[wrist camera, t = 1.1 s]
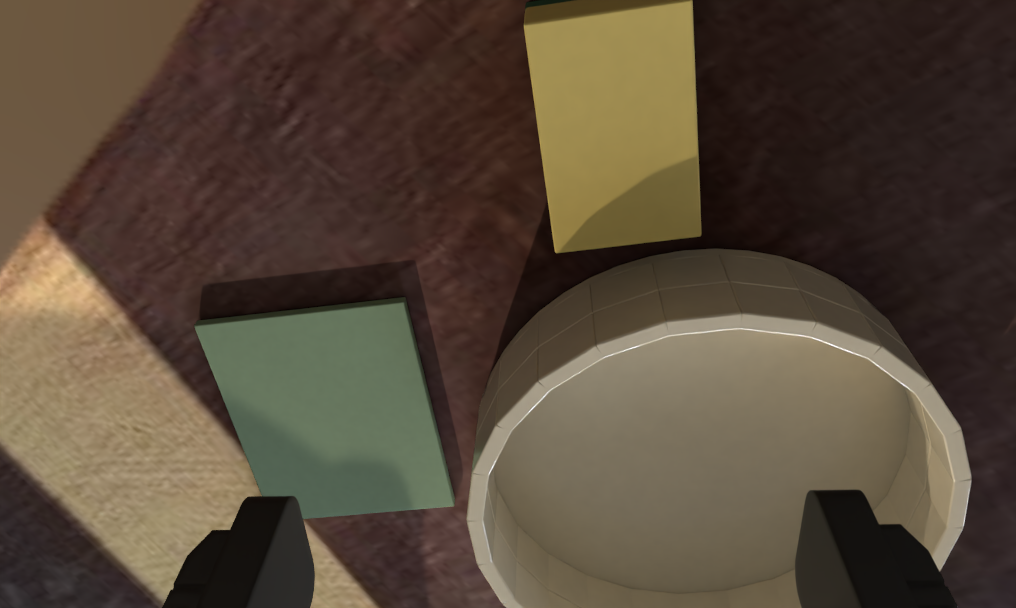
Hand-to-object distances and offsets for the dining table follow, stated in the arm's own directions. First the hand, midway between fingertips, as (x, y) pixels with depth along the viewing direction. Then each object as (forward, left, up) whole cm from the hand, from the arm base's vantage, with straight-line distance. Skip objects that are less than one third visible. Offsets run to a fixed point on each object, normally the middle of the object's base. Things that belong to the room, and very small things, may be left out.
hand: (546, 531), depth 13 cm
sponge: (-2, +2, -16) cm, 17 cm away
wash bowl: (+12, +4, -16) cm, 21 cm away
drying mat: (+9, -10, -16) cm, 21 cm away
